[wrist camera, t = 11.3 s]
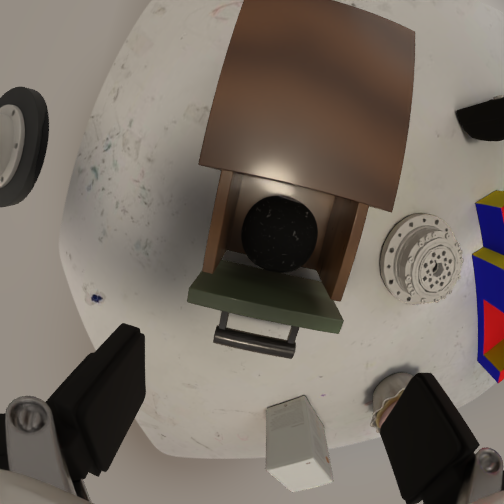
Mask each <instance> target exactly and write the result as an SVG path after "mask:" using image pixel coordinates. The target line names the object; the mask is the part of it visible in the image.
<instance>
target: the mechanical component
mask: <svg viewBox="0 0 504 504" xmlns="http://www.w3.org/2000/svg"><path fill="white" fill-rule="evenodd" d="M463 261H464V260H463V258H462V250H461V249H460V243H458V242H457V240H456V239H455V236H454V234H453V232H452V230H451V228H450V227H449V226H448V225H447V224H446V223H445V222H444V221H443V220H442V219H441V218H439V217H436V216H433V215H430V214H423V213H420V214H413V215H411V216H408V217H406V218H405V219H403V220H402V221H401V222H399V223H398V224H397V225H396V226H395V227H394V228H393V230H392V231H391V232H390V233H389V235H388V237H387V239H386V241H385V243H384V246H383V249H382V253H381V260H380V266H381V276H382V279H383V281H384V283H385V286H386V288H387V289H388V290H389V291H390V293H391V294H392V295H393V296H395V297H396V298H397V299H398V300H400V301H402V302H404V303H406V304H413V305H415V304H422V303H423V304H424V303H432V302H436V303H438V302H439V300H440V299H445V298H446V295H447V294H451V292H452V289H453V287H454V285H455V284H456V282H457V280H459V279H460V271H461V266H462V263H463Z"/></svg>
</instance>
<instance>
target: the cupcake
mask: <svg viewBox="0 0 504 504" xmlns="http://www.w3.org/2000/svg"><path fill="white" fill-rule="evenodd" d="M412 377H413V376H412V375H410V374H408V373H396V374H393V375H391V376H389V377H387V378H385V379H384V380H383V381H382V382H381V383H380V384H379V385H378V386H377V387H376V389H375V391H374V394H373V417H372V421H371V424H370V426H371V427H376V432H377V433H380V428H381V425H382V424H383V422H384V421H385V419H386V418H387V416H388V415H389V413H390V412H391V410H392V409H393V407H394V406H395V404H396V403H397V401H398V399H399V398H400V396H401V395H402V393H403V391H404V390H405V388H406V386H407V385H408V383H409V381H410V379H411V378H412Z"/></svg>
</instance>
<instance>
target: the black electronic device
mask: <svg viewBox="0 0 504 504" xmlns="http://www.w3.org/2000/svg"><path fill="white" fill-rule="evenodd" d="M456 112H457V115H458V117H459V120H460V123H461V125H462V126H463V128H464V130H465V131H466V132H467V133H468V134H469V135H470V136H471V137H472V138H475V139H479V140H484V141H501V140H504V96H503V95H501V96H496V97H494V100H493V99H491V100H489V101H487V102H483V103H480V104H476V105H473V106H470V107H466V108H463V109H460V110H457V111H456Z"/></svg>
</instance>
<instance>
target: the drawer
mask: <svg viewBox="0 0 504 504" xmlns="http://www.w3.org/2000/svg"><path fill="white" fill-rule="evenodd" d="M270 196H285V197H289V198H292V199H295V200H297V201H299V202H301V203H302V204H304V205H305V206H306V207H307V208H308V209H309V210H310V211H311V212H312V214H313V215H314V217H315V220H316V223H317V228H318V237H317V243H316V246H315V249H314V251H313V253H312V255H311V257H310V258H309V259H308V261H307V262H306V263H305V264H304V265H302V266H301V267H305V268H309V269H314V270H316V271H317V273H318V275H319V277H320V279H321V281H322V282H321V281H316V280H311V279H307V278H302V277H298V276H293V275H288V274H284V273H279V272H272V271H268V270H265V269H261V268H257V267H253V266H248V265H244V264H239V263H235V262H231V261H226V260H222V258H223V256H224V255H225V253H226V251H227V250H229V251H234V252H238V253H243V254H246V253H245V251H244V249H243V246H242V240H241V231H242V225H243V222H244V219H245V217H246V215H247V213H248V211H249V210H250V209H251V207H252V206H253V205H254V204H255V203H257V202H258V201H260V200H261V199H264V198H266V197H270ZM368 208H369V205H366V204H362V203H359V202H356V201H352V200H349V199H345V198H342V197H338V196H335V195H331V194H327V193H324V192H320V191H316V190H312V189H308V188H304V187H300V186H296V185H292V184H288V183H284V182H279V181H275V180H271V179H266V178H262V177H257V176H253V175H248V174H243V173H238V172H233V171H228V170H223V169H222V170H221V175H220V179H219V184H218V189H217V194H216V199H215V204H214V209H213V214H212V219H211V224H210V230H209V235H208V241H207V246H206V252H205V257H204V263H203V269H202V271H201V272H200V274H199V275H198V277H197V278H196V279H195V281H194V282H193V283H192V285H191V286H190V287H189V292H188V299H187V302H189V303H193V304H196V305H200V306H204V307H209V308H213V309H217V310H221V311H222V313H221V318H220V323H219V326H218V325H217V327H216V331H215V335H214V340H213V343H216V344H221V345H225V346H229V347H234V348H238V349H243V350H247V351H252V352H257V353H262V354H267V355H273V356H278V357H284V358H289V359H292V358H293V356H294V353H295V348H296V343H295V339H296V336H297V333H298V330H299V327H301V328H307V329H312V330H318V331H324V332H330V333H336V334H339V332H340V329H341V327H342V324H343V322H344V320H343V318H342V316H341V314H340V312H339V310H338V308H337V306H336V304H335V302H334V301H333V300H335V301H341V299H342V296H343V293H344V290H345V287H346V284H347V281H348V278H349V275H350V272H351V268H352V265H353V262H354V259H355V255H356V252H357V248H358V245H359V241H360V238H361V234H362V231H363V227H364V223H365V219H366V216H367V212H368ZM229 313H234V314H238V315H243V316H247V317H252V318H256V319H261V320H266V321H271V322H276V323H281V324H286V325H291V329H290V332H289V335H288V338H287V340H284V339H279V338H274V337H268V336H264V335H259V334H254V333H249V332H245V331H240V330H236V329H231V328H227V327H226V326H227V321H228V316H229Z"/></svg>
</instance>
